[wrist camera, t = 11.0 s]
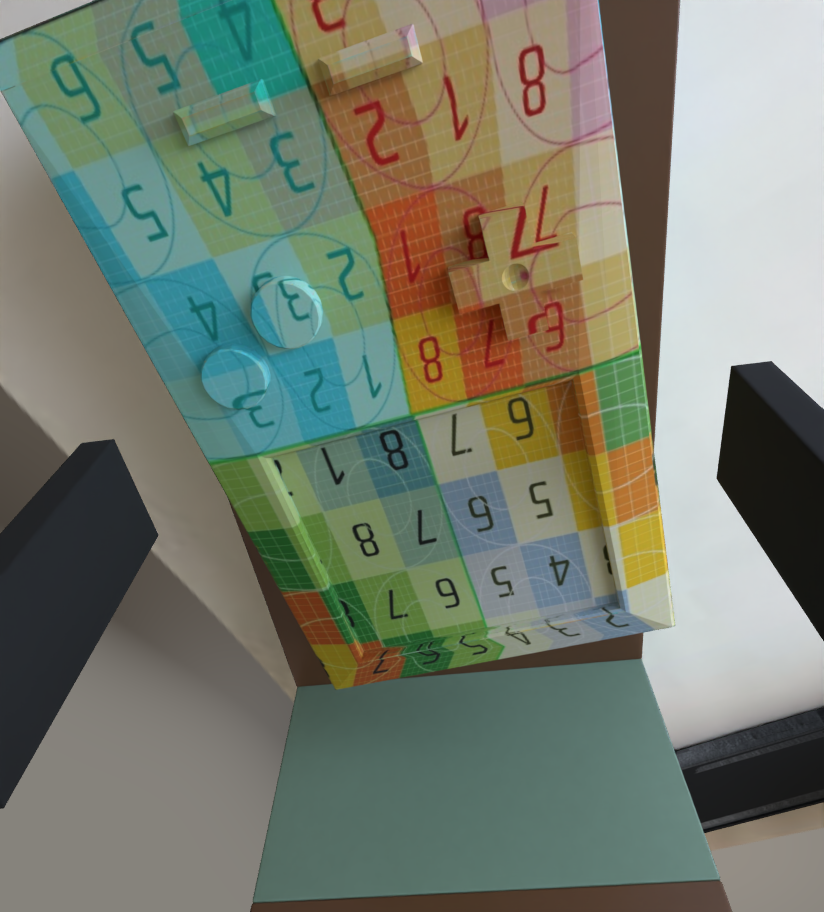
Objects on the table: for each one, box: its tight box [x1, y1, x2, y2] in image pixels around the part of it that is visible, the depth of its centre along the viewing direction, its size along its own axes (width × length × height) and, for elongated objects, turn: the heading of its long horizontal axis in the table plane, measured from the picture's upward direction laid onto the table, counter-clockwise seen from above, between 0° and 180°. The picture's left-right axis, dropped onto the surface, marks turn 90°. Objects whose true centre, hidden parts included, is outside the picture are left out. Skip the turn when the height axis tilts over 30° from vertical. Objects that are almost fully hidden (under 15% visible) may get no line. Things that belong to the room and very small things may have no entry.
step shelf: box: [228, 0, 732, 912], centre depth 22 cm, size 34×15×16 cm, turn 9°
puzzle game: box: [0, 0, 675, 690], centre depth 18 cm, size 12×5×20 cm
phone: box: [675, 707, 824, 833], centre depth 40 cm, size 8×1×15 cm
